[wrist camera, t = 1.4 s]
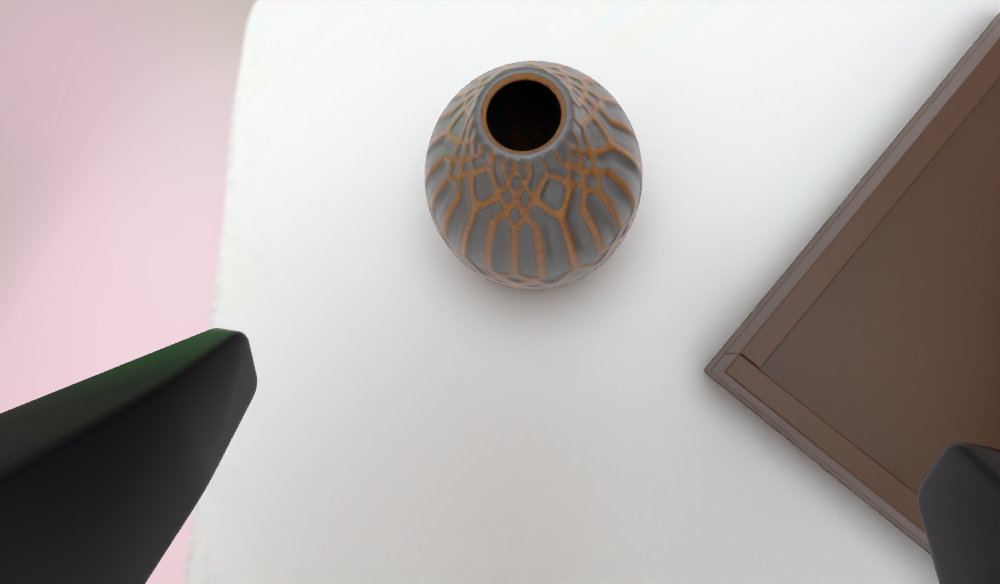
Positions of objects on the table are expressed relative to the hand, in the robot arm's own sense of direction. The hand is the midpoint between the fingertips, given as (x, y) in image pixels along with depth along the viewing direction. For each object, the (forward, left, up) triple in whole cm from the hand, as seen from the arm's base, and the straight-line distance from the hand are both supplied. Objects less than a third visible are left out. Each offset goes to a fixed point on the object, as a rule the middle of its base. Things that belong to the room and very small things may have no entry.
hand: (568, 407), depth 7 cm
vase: (+5, +4, -14) cm, 15 cm away
